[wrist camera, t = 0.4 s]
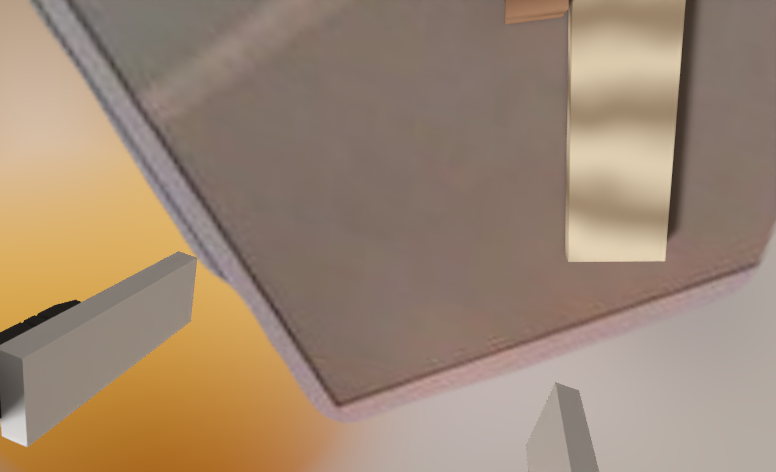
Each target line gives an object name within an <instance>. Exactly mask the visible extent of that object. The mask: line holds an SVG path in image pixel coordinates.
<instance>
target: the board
mask: <svg viewBox="0 0 776 472" xmlns="http://www.w3.org/2000/svg"><path fill="white" fill-rule="evenodd" d="M685 3H686V0H569V25H568V96H567V167H566V237H565V254H566V257H567V260H568V262H611V261H665V255H666V242H667V230H668V217H669V204H670V192H671V179H672V167H673V154H674V142H675V129H676V116H677V104H678V91H679V79H680V66H681V53H682V41H683V28H684V16H685Z"/></svg>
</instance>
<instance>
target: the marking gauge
mask: <svg viewBox="0 0 776 472" xmlns="http://www.w3.org/2000/svg"><path fill="white" fill-rule="evenodd" d="M568 9H569V0H505V25H506V24H513V23H521V22H529V21H536V20H544V19H551V18H559V17H562V16H563V15H564V14H565V12H566V11H567V10H568Z"/></svg>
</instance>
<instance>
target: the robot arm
mask: <svg viewBox="0 0 776 472" xmlns="http://www.w3.org/2000/svg"><path fill="white" fill-rule="evenodd" d="M196 264H197V258H196V257H193V256H190V255H187V254H184V253H182V252H176V253H175V254H173V255H171V256H169V257H167V258H165V259H163V260H161V261H159V262H157V263H156V264H154V265H152V266H150V267H148V268H146V269H144V270H142V271H141V272H138V273H136V274H135V275H133V276H131V277H129V278H127V279H125V280H123V281H121V282H119V283H118V284H115V285H114V286H112V287H110V288H108V289H106V290H104V291H102V292H101V293H98V294H96V295H95V296H93V297H91V298H89V299H87V300H85V301H83V302H80V301H77V300H74V301H69V302H65V303H62V304H58V305H54V306H52V307H50V308H48V309H46V310H44V311H42V312H40V313H38V315H37V316H32V317H30V318H28V319H26V320H24V322H23V323H18V324H16V325H14V326H12V327H10V328H8V329H6V330H4V331H2V332H0V419H1V431H2V436H3V437H5V438H7V439H9V440H12V441H14V442H17V443H19V444H21V445H23V446H26V447H28V446H29V445H31V444H32V443H33V442H35V441H36V440H37V439H38V438H40V437H41V436H42V435H43V434H45V433H46V432H48V431H49V430H50V429H51V428H53V427H54V426H55V425H57V424H58V423H59V422H61V421H62V420H63V419H64V418H66V417H67V416H68V415H69V414H71V413H72V412H74V411H75V410H76V409H77V408H78V407H80V406H81V405H83V404H84V403H85V402H87V401H88V400H89V399H90V398H92V397H93V396H94V395H96V394H97V393H98V392H99V391H101V390H102V389H103V388H105V387H106V386H107V385H109V384H110V383H111V382H112V381H114V380H115V379H116V378H118V377H119V376H120V375H122V374H123V373H124V372H125V371H127V370H128V369H129V368H131V367H132V366H133V365H135V364H136V363H137V362H138V361H140V360H141V359H142V358H143V357H145V356H146V355H147V354H149V353H150V352H151V351H153V350H154V349H155V348H157V347H158V346H159V345H160V344H162V343H163V342H164V341H166V340H167V339H168V338H170V337H171V336H172V335H173V334H175V333H176V332H177V331H179V330H180V329H181V328H183V327H184V326H185V325H186V324H188V323H189V322H190V321H191V312H192V302H193V292H194V283H195V273H196ZM526 450H527V465H528V472H599V470H598V465H597V461H596V457H595V453H594V450H593V446H592V441H591V437H590V433H589V429H588V425H587V422H586V417H585V413H584V409H583V405H582V401H581V397H580V393H579V390H576V389H573V388H570V387H567V386H564V385H561V384H559V383H555V385H554V387H553V389H552V391H551V393H550V395H549V397H548V400H547V402H546V404H545V406H544V408H543V410H542V412H541V414H540V417H539V419H538V421H537V423H536V425H535V427H534V429H533V432H532V434H531V436H530V438H529V440H528V442H527V445H526Z"/></svg>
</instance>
